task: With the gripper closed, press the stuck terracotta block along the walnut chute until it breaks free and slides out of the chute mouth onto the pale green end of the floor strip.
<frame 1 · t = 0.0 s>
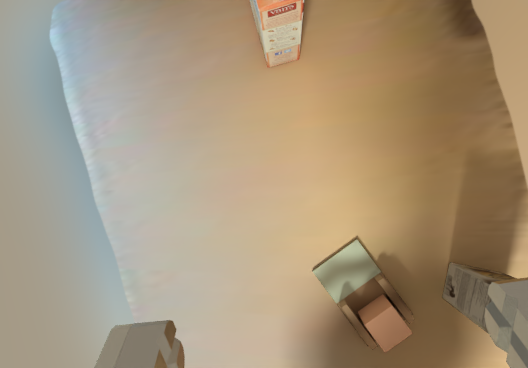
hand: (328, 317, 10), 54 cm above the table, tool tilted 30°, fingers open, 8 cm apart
block: (383, 322, 60), point 4 cm above the table, slide at 0.0 cm
chute: (363, 294, 63), on the table
cracker box: (274, 24, 65), on the table
coffee box: (472, 285, 62), on the table
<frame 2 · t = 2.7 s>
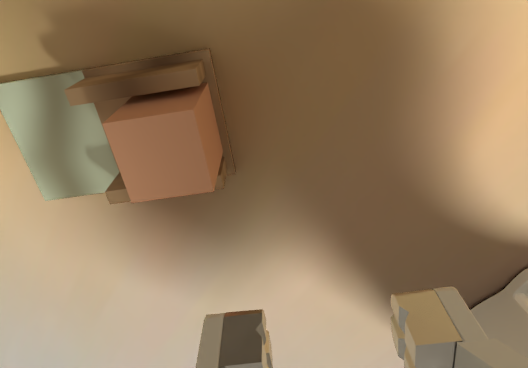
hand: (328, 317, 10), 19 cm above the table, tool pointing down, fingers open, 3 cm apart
block: (171, 139, 24), point 4 cm above the table, slide at 0.0 cm
chute: (128, 129, 28), on the table
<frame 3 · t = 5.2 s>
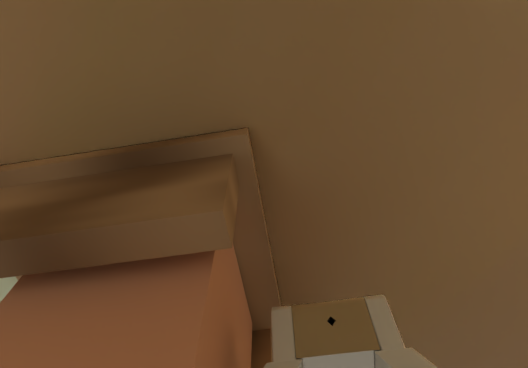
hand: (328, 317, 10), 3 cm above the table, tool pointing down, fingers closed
block: (138, 356, 10), point 4 cm above the table, slide at 0.6 cm, touching gripper
chute: (74, 278, 13), on the table
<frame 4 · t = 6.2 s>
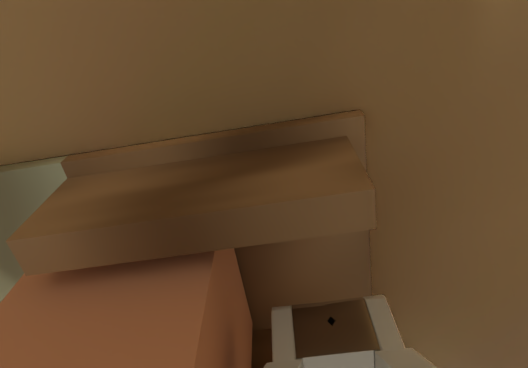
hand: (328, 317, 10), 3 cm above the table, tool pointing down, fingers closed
block: (138, 357, 10), point 4 cm above the table, slide at 3.8 cm, touching gripper
chute: (161, 267, 13), on the table
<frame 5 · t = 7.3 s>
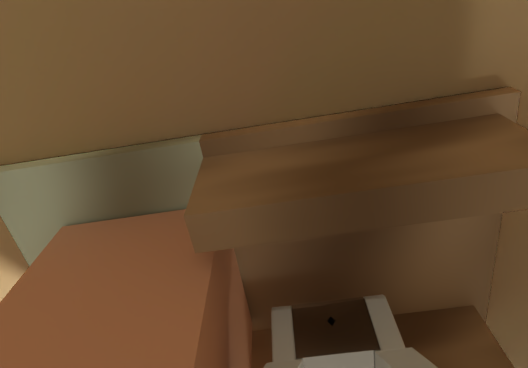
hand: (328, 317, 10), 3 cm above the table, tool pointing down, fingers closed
block: (138, 357, 10), point 4 cm above the table, slide at 7.7 cm, touching gripper
chute: (276, 252, 13), on the table
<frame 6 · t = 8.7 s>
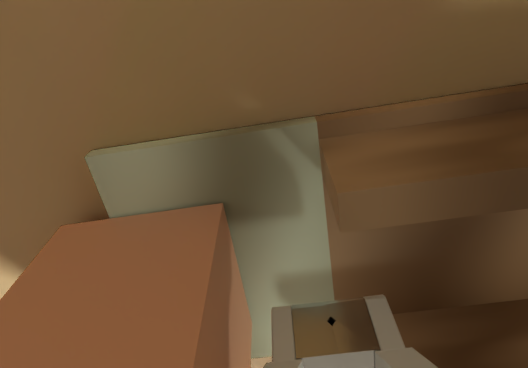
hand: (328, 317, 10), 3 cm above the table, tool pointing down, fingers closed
block: (137, 356, 10), point 4 cm above the table, slide at 11.0 cm, touching gripper
chute: (373, 239, 13), on the table
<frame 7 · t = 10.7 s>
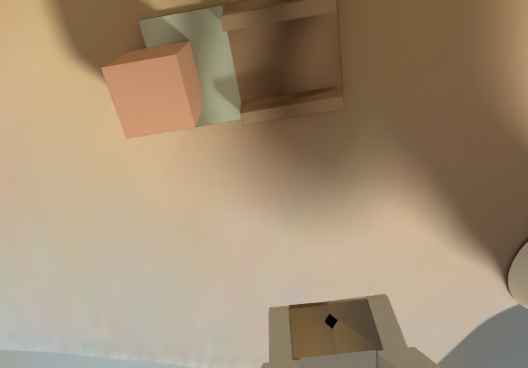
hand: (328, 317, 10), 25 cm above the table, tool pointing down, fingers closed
block: (159, 87, 29), point 4 cm above the table, slide at 11.0 cm
chute: (252, 61, 31), on the table
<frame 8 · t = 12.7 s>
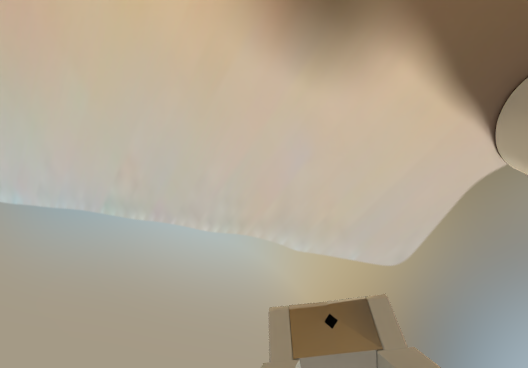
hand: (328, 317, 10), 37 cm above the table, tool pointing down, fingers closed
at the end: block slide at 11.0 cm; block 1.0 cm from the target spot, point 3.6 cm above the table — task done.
